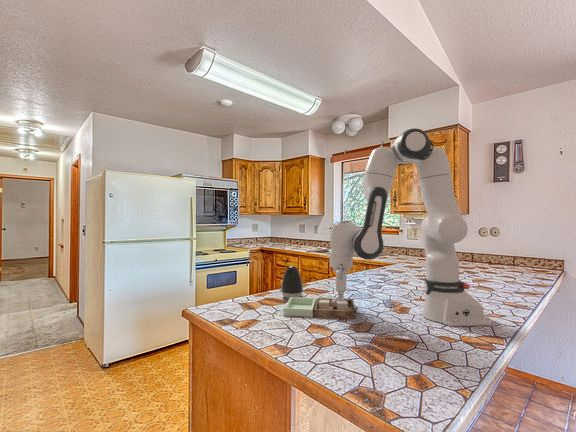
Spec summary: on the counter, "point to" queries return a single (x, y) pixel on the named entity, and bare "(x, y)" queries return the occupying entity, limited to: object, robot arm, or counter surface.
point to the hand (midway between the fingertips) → (340, 297)
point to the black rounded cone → (291, 283)
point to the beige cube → (324, 304)
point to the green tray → (300, 306)
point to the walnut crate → (335, 310)
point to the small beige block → (342, 305)
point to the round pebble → (334, 303)
